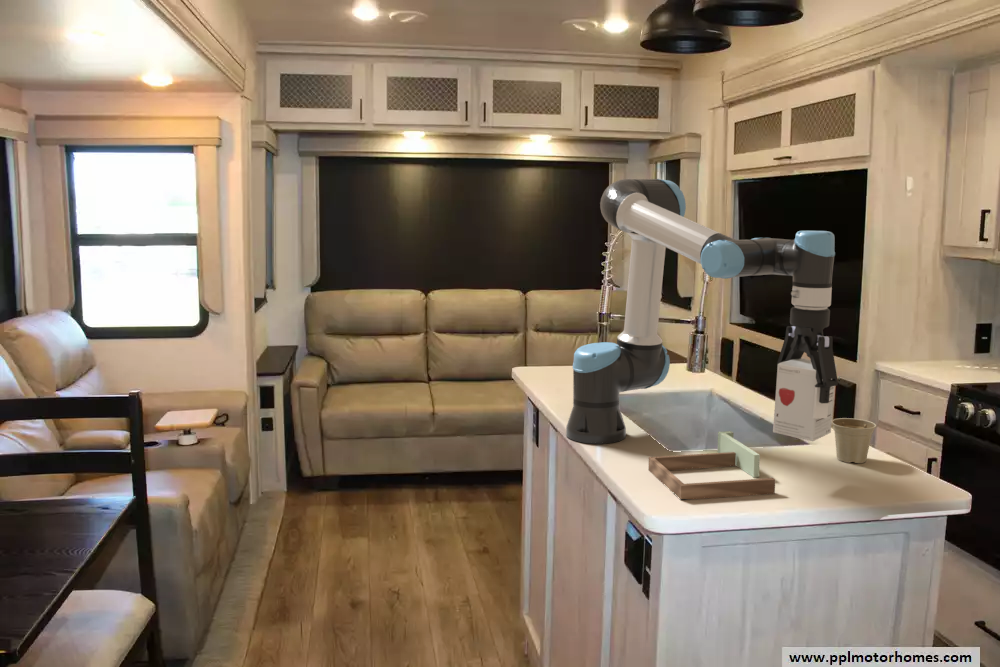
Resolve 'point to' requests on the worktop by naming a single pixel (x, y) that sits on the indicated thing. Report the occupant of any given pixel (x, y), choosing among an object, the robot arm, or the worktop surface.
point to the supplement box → (799, 402)
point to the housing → (707, 489)
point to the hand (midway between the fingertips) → (803, 409)
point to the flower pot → (852, 439)
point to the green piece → (739, 453)
